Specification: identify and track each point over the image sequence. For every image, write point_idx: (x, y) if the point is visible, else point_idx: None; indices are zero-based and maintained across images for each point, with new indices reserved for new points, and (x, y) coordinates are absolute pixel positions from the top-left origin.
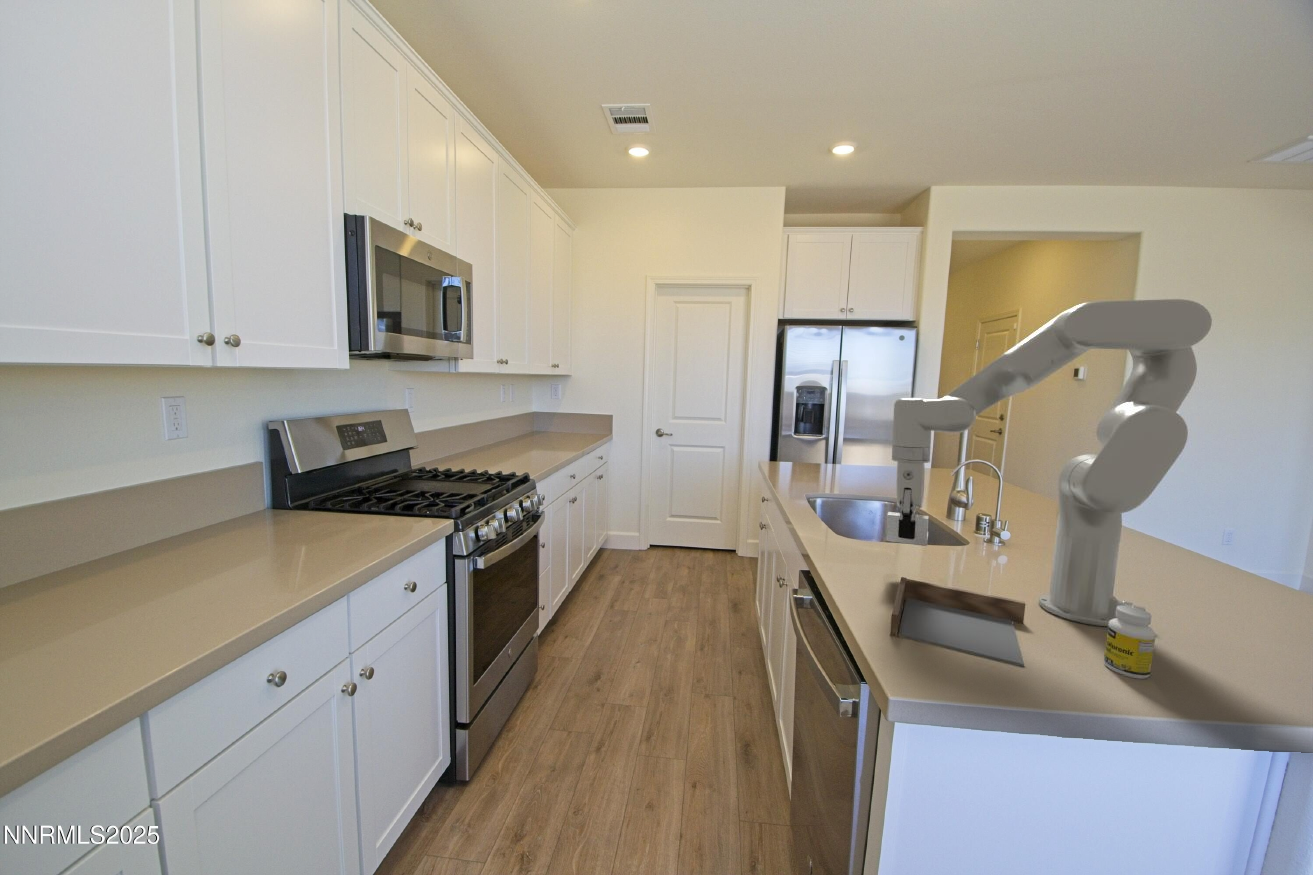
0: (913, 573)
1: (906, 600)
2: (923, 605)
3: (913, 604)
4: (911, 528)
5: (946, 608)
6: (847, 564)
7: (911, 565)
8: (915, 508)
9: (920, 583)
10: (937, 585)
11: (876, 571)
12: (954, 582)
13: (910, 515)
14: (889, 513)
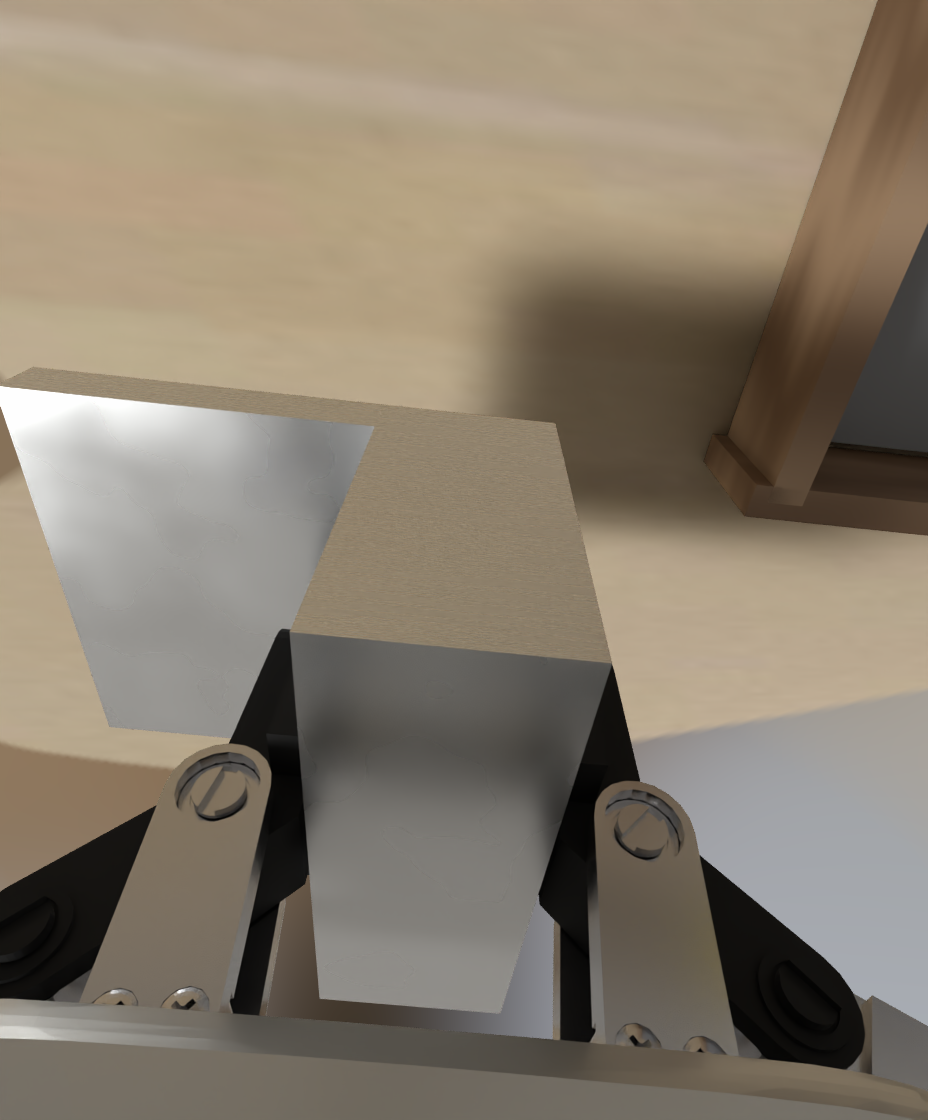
0: (228, 359)
1: None
2: (882, 340)
3: (877, 399)
4: None
5: None
6: None
7: (50, 363)
8: (231, 919)
9: (848, 396)
10: (881, 266)
11: None
12: (228, 26)
13: (832, 969)
14: (420, 998)
